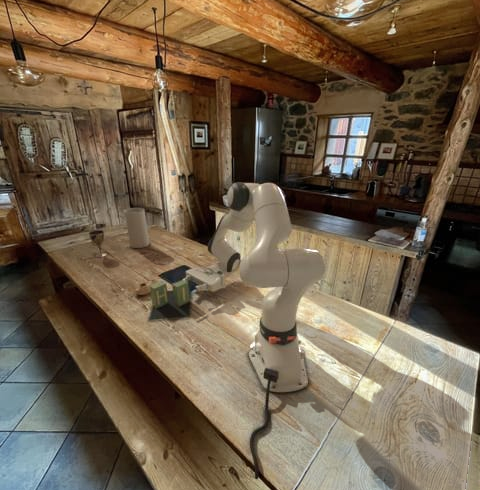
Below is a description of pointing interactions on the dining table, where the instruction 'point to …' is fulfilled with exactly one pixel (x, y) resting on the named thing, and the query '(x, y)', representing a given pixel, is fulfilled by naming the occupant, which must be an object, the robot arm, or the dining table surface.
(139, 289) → the pottery oil lamp
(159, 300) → the letter H
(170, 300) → the word mat
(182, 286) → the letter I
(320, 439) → the dining table surface
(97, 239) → the wine glass
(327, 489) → the dining table surface
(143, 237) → the cylinder vase
